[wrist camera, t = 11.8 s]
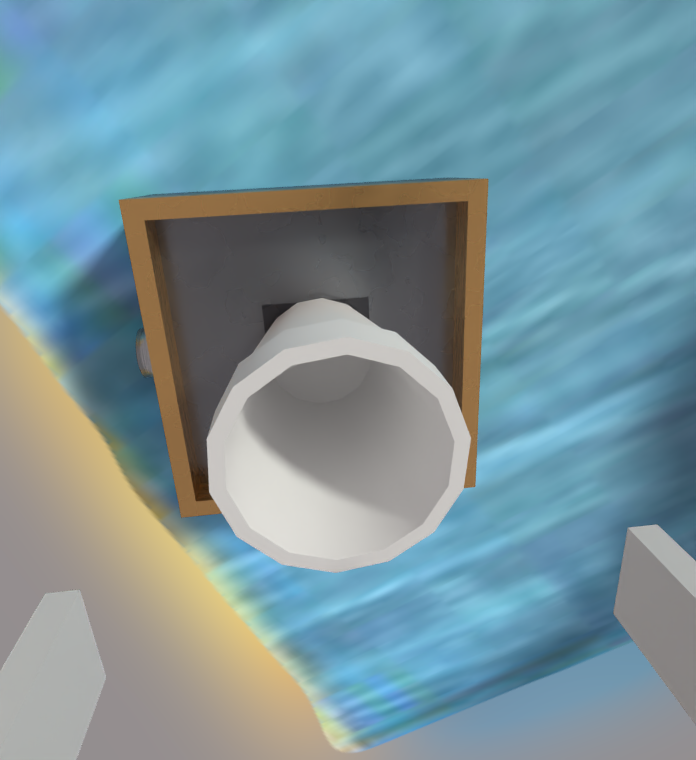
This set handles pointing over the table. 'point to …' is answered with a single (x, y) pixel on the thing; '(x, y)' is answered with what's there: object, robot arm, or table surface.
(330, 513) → the foam cup
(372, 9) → the table surface
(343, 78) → the table surface
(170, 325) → the wooden drawer tray
